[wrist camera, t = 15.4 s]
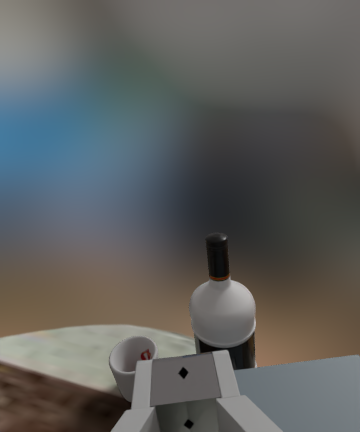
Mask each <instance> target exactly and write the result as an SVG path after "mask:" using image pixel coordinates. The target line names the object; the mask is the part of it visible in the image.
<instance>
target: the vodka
mask: <svg viewBox="0 0 360 432" xmlns="http://www.w3.org/2000/svg"><path fill="white" fill-rule="evenodd" d="M205 240H206V248H207V259H208V270H209V281H208V282H205V283H203V284H202V285H200V286H199V287H198V288H197V289H196V290H195V291H194V293H193V294H192V296H191V299H190V303H189V311H190V316H191V319H192V320H191V325H192V329H193V332H194V338H195V347H196V354H199V353H206V352H214V351H221V350H227V351H228V352H229V355H230V359H231V363H232V367H233V370H241V369H249V368H257V364H256V362H255V336H254V330H255V325H256V321H255V302H254V299H253V297H252V294H251V293H250V291H249V290H248V289H247V288H246V287H245V286H243V285H242V284H240V283H238V282H235V281H232V280H230V271H229V255H228V237H227V236H226V235H225V234H223V233H212V234H209V235H208V236H206V239H205Z"/></svg>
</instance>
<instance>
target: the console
mask: <svg viewBox="0 0 360 432" xmlns="http://www.w3.org/2000/svg"><path fill="white" fill-rule="evenodd" d="M234 374H235V378H236V382H237V385H238V389H239V393H240V395H246V396H247V397H248V398H249V399H250V400H251V401H252V402H253V403H254V404H255V405H256V406H257V407H258V408H259V409H260V410H261V411H262V412H263V413H264V414H265V415H266V416H267V417H268V418H269V419H270V420H271V421H273V422H274V423H275V424H276V425H277V426H278V427H279V428H280V429H281V430H282V431H283V432H360V356H359V355H352V356H344V357H336V358H328V359H320V360H312V361H304V362H297V363H289V364H281V365H273V366H265V367H257V368H249V369H241V370H234Z"/></svg>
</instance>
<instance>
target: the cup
mask: <svg viewBox="0 0 360 432" xmlns="http://www.w3.org/2000/svg"><path fill="white" fill-rule="evenodd" d="M152 359H158V349H157V345H156V344H155V342H154V341H153V340H152V339H150V338H148V337H145V336H132V337H129V338H126V339H124V340H122V341H121V342H120V343H118V344H117V345H116V346H115V347H114V348H113V350H112V352H111V354H110V357H109V365H110V368H111V371H112V373H113V375H114V378H115V380H116V383H117V385H118V387H119V390H120V392H121V394H122V396H123V397H124V398H125V399H126V400H127V401H129V402H131V403H132V394H133V386H134V377H135V369H136V364H137V361H142V360H152Z"/></svg>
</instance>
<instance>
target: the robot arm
mask: <svg viewBox="0 0 360 432" xmlns="http://www.w3.org/2000/svg"><path fill="white" fill-rule="evenodd" d="M111 432H283V431H282V430H281V429H280V428H279V427H278V426H277V425H276V424H275V423H274V422H273V421H271V420H270V419H269V418H268V417H267V416H266V415H265V414H264V413H263V412H262V411H261V410H260V409H259V408H258V407H257V406H256V405H255V404H254V403H253V402H252V401H251V400H250V399H249V398H248V397H247V396H246V395H240V393H239V389H238V385H237V382H236V378H235V374H234V370H233V367H232V363H231V359H230V355H229V352H228V351H227V350H221V351H214V352H206V353H199V354H192V355H185V356H179V357H169V358H159V359H152V360H142V361H137V364H136V369H135V377H134V386H133V394H132V403H131V410H126V411H125V412H124V414H123V415H122V416H121V418H120V419H119V421H118V422H117V423H116V425H115V426H114V428H113V429H112V430H111Z"/></svg>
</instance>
